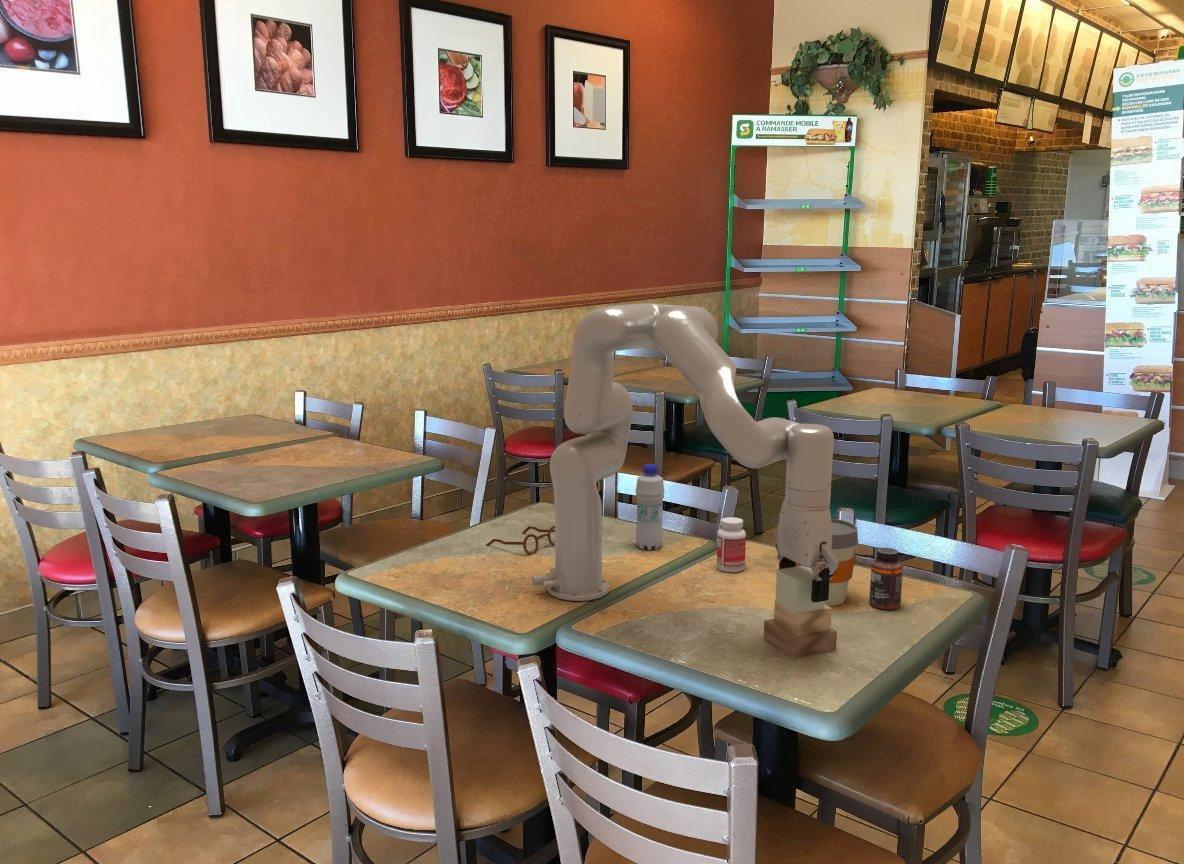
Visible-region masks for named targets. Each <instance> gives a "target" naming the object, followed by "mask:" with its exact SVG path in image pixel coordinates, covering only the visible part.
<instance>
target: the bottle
mask: <svg viewBox="0 0 1184 864" xmlns="http://www.w3.org/2000/svg"><path fill="white" fill-rule="evenodd" d="M658 471H659V468H658V466H657V465H656V464H653V463H647V464H645V465H643V467H642V474H641V475H639V476H638V477H637V479H636V486H635V498H636V526H635V527H636V528H635V543H636V546H637V547H638V548H640V549H641V550H645V547H647V550H648V551H651V550H652V548H653V549H654V550H658V549H659V548H660V547H661V546H662V543H663V539H664V537H663V536H664V535H663V534H664V533H663V501H664V499H665V484H664V478H663V477H662V476H660V475H658V473H659V472H658Z"/></svg>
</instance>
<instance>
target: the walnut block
mask: <svg viewBox="0 0 1184 864" xmlns="http://www.w3.org/2000/svg"><path fill="white" fill-rule="evenodd" d="M837 638H838V631H837V630H836V629H834V628H832V627H831V630H826V631H821V632H816V633H811V634H806V635H802V636H797V635H795V634H793V633H792V632H790V631H788V630H787V629H785V628H784V627H782V626H780V625H779V624H777V623H775V622H774V618H771V619H770V618H769V619H765V620H763V640H765V642H767V643H769V644H770V645H772V646H774V647H775V648H777V649H778V650H779V651H781V652H782V653H784V654H785V655H787V656H789V657H790V658H792V659H799V658H803V657H807V656H814V655H817V654H822V653H827V652H828V653H829V652H832V651H836V650H837V640H838V639H837Z"/></svg>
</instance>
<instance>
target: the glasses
mask: <svg viewBox="0 0 1184 864" xmlns="http://www.w3.org/2000/svg"><path fill="white" fill-rule="evenodd" d="M530 530H534V531H536V532H539V533H542V534H540V535H538V536H537V535H535V534H534V533H533V534H531V533H529V534H527V535H526V533H527V532H529V531H530ZM551 533H555V525H552V526H551V527H550V528H549V529H548V528H547V529H540V528H538V527H536V526H530V525H529V526H527V527H526V528H525V529H524V530H523V531H522V532H521V534H523V535H526V536H525V537H524V539H523V541H504V540H502V539H498V538H493V539H492V540H490V541H489V542H487V543H486V544H485V546H487V547H489V546H491V545H492V544H494V543H495V542H497V543H500V544H503V545H505V546H506V545H508V546H509V545H510V546H514V545H515V546H518V545H519V546H520V545H521V546H523V551H524V553H525V554H526V555H528V556H532V555H535V554H536V553H537V552H538V550H539V540H540V539H542V538H545V537H547V539H548V542H549V545H550V546H552V547H555V542H553V541H552V538H551ZM529 538H533V539H534V540H535V548H534V550H532V552H530V551H528V549H527V541H528V540H529Z"/></svg>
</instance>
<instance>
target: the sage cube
mask: <svg viewBox="0 0 1184 864" xmlns="http://www.w3.org/2000/svg"><path fill="white" fill-rule="evenodd" d="M813 579H815V577H814V575H813V572H812V569H811V568H809V567H804V566H798V567H791V568H785V569H779V568H778V569H776V581H775V582H776V583H775V600H774V603H775V602H776V603H778V604H780V605H781V606H783V607H785V608H786V609H788V610H790V611H791V612H793V613H794V614H798V613H804V612H810V611H815V610H821V609H824V602H825V601H822V602H816V603H814V602H812V601H811V592H812V580H813Z"/></svg>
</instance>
